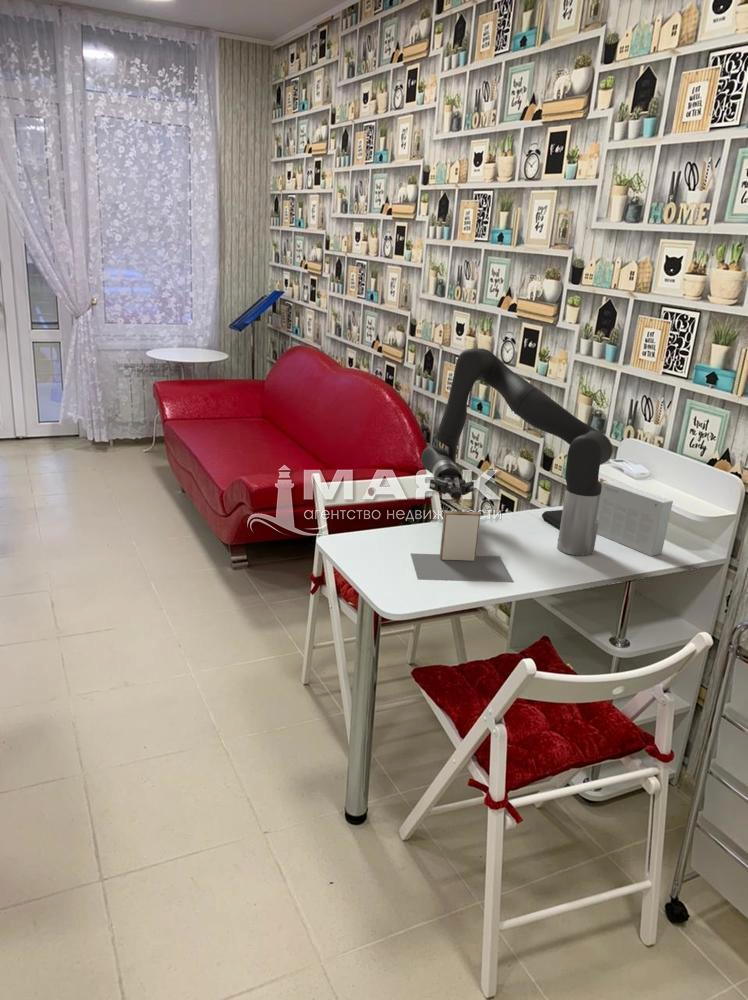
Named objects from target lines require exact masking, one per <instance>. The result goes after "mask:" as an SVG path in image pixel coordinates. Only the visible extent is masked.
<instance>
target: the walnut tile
mask: <svg viewBox="0 0 748 1000" xmlns="http://www.w3.org/2000/svg"><path fill="white" fill-rule="evenodd" d="M480 519H481V513H480V512H479V511H460V510H459V511H458V510H444V511H443V521H442V529H441V539H440V540H441V541H440V549H439V550H440V551H439V554H440V560H452V561H475V556H477V555H476V553H477V545H478V536H479V530H480V529H479V528H480Z"/></svg>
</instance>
